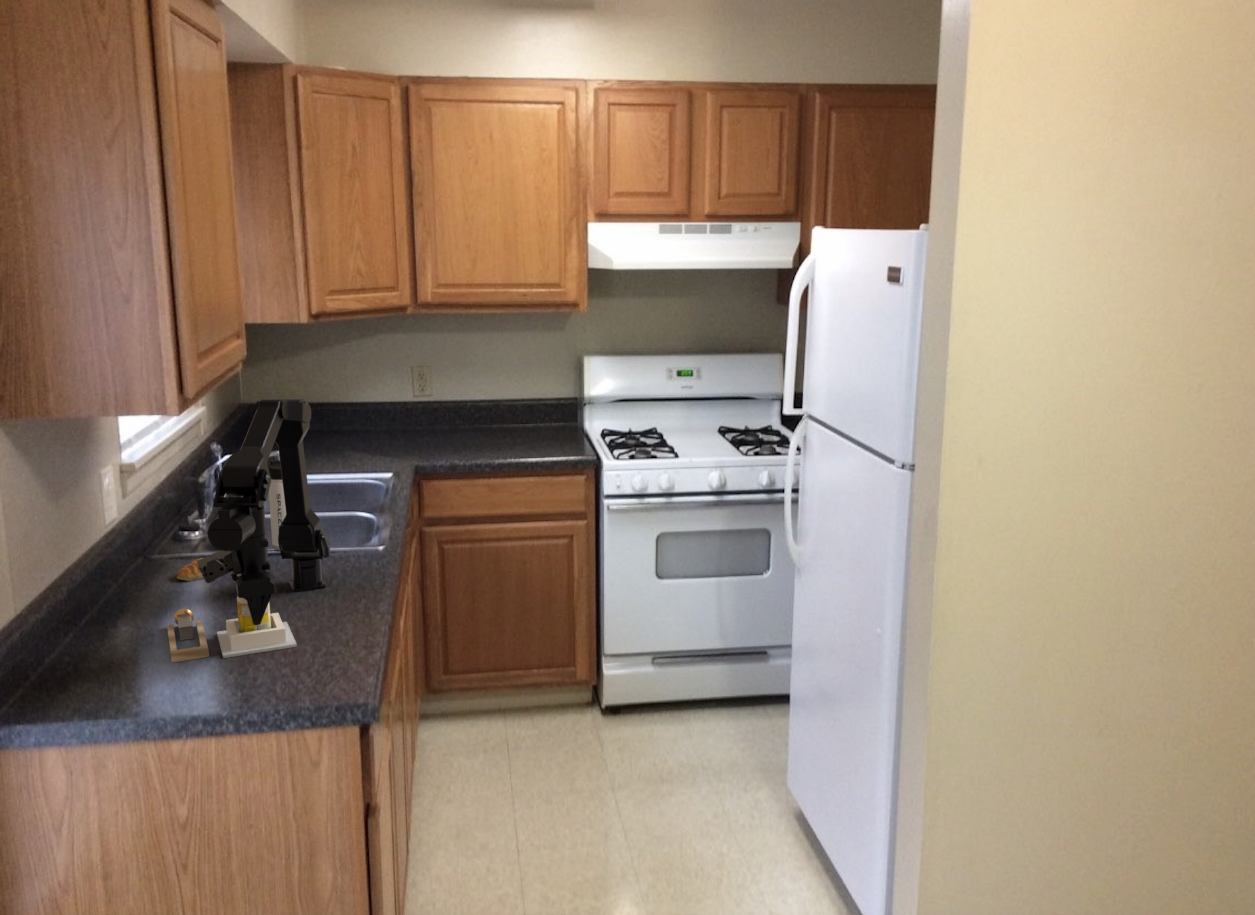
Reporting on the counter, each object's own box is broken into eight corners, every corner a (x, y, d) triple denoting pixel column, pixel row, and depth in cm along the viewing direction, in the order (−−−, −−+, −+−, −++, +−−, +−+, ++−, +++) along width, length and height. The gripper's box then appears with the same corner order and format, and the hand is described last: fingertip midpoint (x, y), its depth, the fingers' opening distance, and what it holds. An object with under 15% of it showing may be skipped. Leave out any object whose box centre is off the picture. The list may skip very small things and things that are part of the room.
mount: (167, 630, 186) (166, 622, 186) (202, 625, 188) (201, 617, 188) (171, 662, 172) (170, 654, 171) (208, 656, 174) (208, 648, 174)
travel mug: (290, 541, 242) (285, 458, 238) (306, 546, 237) (301, 462, 233) (266, 547, 237) (260, 462, 233) (282, 552, 233) (276, 466, 229)
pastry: (189, 585, 211) (187, 567, 210) (169, 579, 215) (168, 562, 214) (228, 573, 219) (227, 556, 218) (209, 568, 222) (207, 551, 222)
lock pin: (175, 626, 188) (173, 609, 187) (193, 623, 189) (192, 607, 188) (177, 640, 181) (175, 623, 180) (196, 638, 182) (195, 620, 182)
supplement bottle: (265, 639, 179) (261, 586, 176) (234, 638, 179) (230, 586, 177) (275, 627, 184) (272, 576, 182) (246, 627, 184) (242, 576, 182)
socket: (217, 634, 184) (215, 618, 183) (286, 624, 189) (285, 608, 189) (223, 658, 174) (221, 641, 173) (296, 646, 179) (295, 630, 178)
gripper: (194, 525, 182) (201, 609, 185) (202, 554, 166) (210, 645, 169) (260, 518, 187) (266, 600, 190) (274, 545, 171) (280, 634, 174)
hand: (255, 619), depth 181 cm, fingers closed on supplement bottle, 5 cm apart
